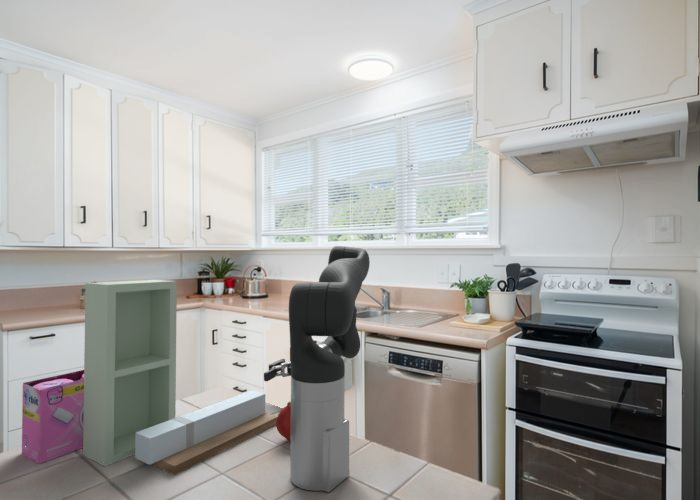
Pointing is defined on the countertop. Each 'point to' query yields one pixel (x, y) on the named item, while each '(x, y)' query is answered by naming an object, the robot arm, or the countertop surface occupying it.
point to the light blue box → (197, 426)
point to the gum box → (53, 416)
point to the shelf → (127, 364)
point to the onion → (284, 422)
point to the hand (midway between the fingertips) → (278, 380)
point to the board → (215, 444)
